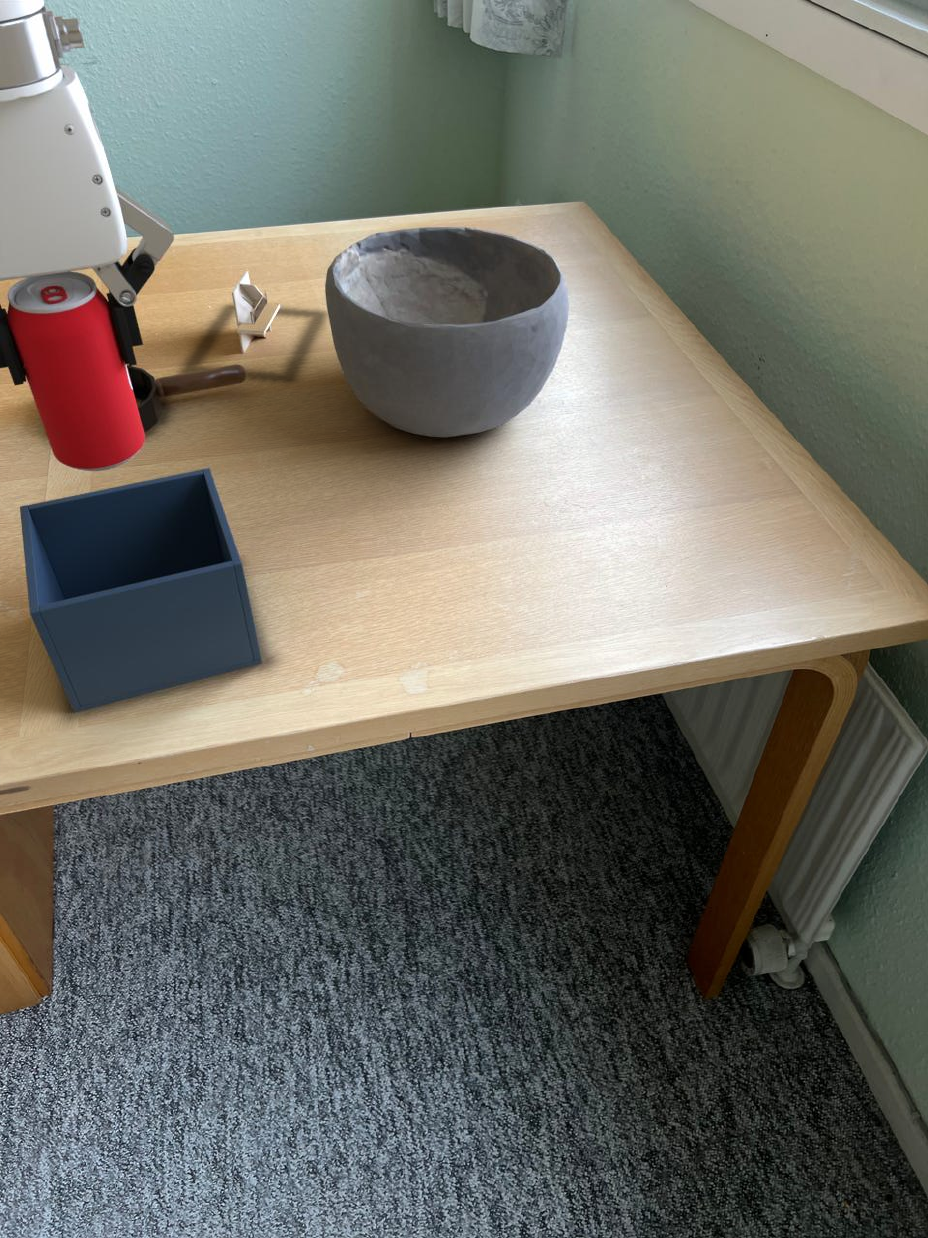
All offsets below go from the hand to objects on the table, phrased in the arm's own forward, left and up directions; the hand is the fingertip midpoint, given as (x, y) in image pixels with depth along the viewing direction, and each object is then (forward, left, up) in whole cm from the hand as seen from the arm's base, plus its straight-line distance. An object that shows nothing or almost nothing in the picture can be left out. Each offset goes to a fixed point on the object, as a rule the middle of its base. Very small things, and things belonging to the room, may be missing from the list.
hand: (74, 362), depth 60 cm
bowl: (+34, +21, -23) cm, 46 cm away
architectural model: (+18, +41, -23) cm, 51 cm away
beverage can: (0, 0, -7) cm, 7 cm away
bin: (0, -3, -23) cm, 23 cm away
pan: (+5, +31, -23) cm, 39 cm away
